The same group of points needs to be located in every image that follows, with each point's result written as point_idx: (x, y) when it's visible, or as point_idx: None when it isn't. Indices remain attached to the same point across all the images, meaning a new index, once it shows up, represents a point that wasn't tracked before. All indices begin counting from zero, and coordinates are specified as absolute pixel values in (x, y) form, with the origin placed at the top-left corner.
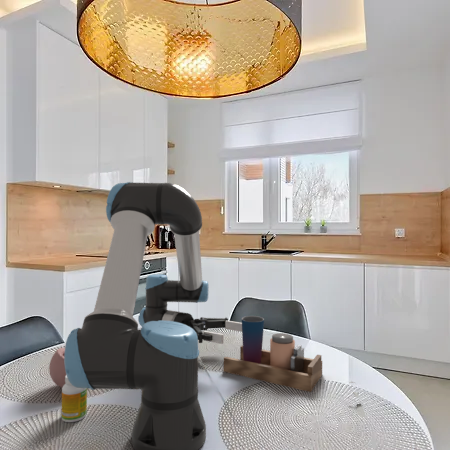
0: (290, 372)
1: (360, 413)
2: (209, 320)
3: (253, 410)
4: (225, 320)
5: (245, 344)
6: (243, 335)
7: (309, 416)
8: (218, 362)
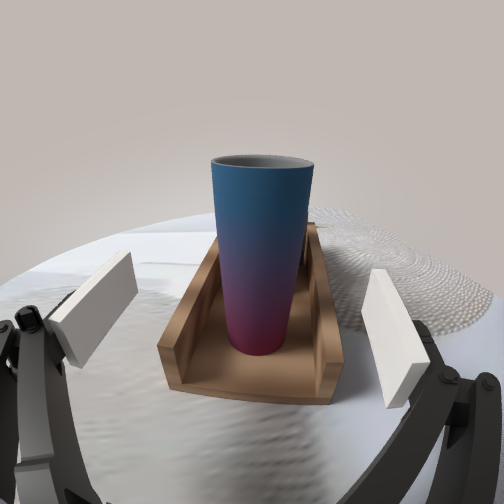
0: (318, 238)
1: (322, 225)
2: (20, 442)
3: (420, 295)
4: (39, 327)
5: (296, 266)
6: (296, 238)
7: (370, 251)
8: (216, 466)
